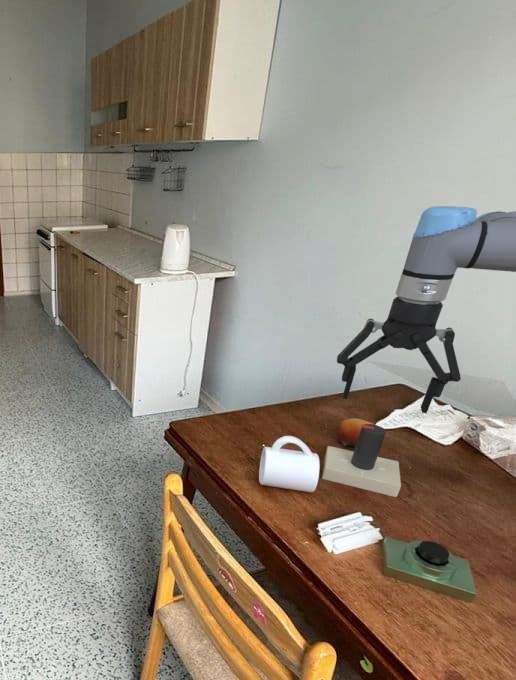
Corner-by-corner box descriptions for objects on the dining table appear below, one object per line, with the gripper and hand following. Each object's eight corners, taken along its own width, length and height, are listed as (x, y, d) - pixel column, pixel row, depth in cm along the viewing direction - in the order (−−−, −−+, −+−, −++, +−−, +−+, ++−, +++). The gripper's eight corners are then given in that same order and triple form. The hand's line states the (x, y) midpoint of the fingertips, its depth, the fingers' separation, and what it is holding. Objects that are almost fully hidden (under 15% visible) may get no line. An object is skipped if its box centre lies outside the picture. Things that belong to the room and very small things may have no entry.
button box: (463, 569, 81) (472, 552, 79) (471, 603, 75) (481, 586, 73) (382, 545, 86) (388, 528, 84) (383, 575, 80) (390, 558, 78)
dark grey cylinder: (373, 461, 104) (386, 425, 100) (373, 472, 101) (386, 435, 96) (351, 456, 106) (362, 420, 101) (350, 466, 102) (362, 430, 98)
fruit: (333, 445, 113) (343, 413, 113) (334, 446, 120) (343, 416, 119) (372, 455, 109) (382, 422, 109) (370, 456, 116) (380, 425, 115)
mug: (312, 500, 98) (326, 452, 92) (259, 492, 100) (270, 444, 95) (307, 477, 104) (320, 431, 99) (258, 470, 107) (267, 424, 102)
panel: (394, 472, 105) (398, 460, 104) (396, 497, 98) (401, 485, 96) (324, 456, 112) (328, 445, 110) (321, 478, 104) (325, 467, 102)
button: (443, 553, 79) (447, 545, 78) (447, 569, 76) (451, 561, 75) (415, 545, 81) (418, 537, 80) (417, 560, 78) (421, 553, 77)
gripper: (340, 296, 88) (313, 397, 98) (512, 313, 77) (462, 425, 87) (341, 287, 94) (316, 383, 104) (501, 302, 83) (456, 408, 93)
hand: (383, 402), depth 95 cm, fingers open, 13 cm apart
